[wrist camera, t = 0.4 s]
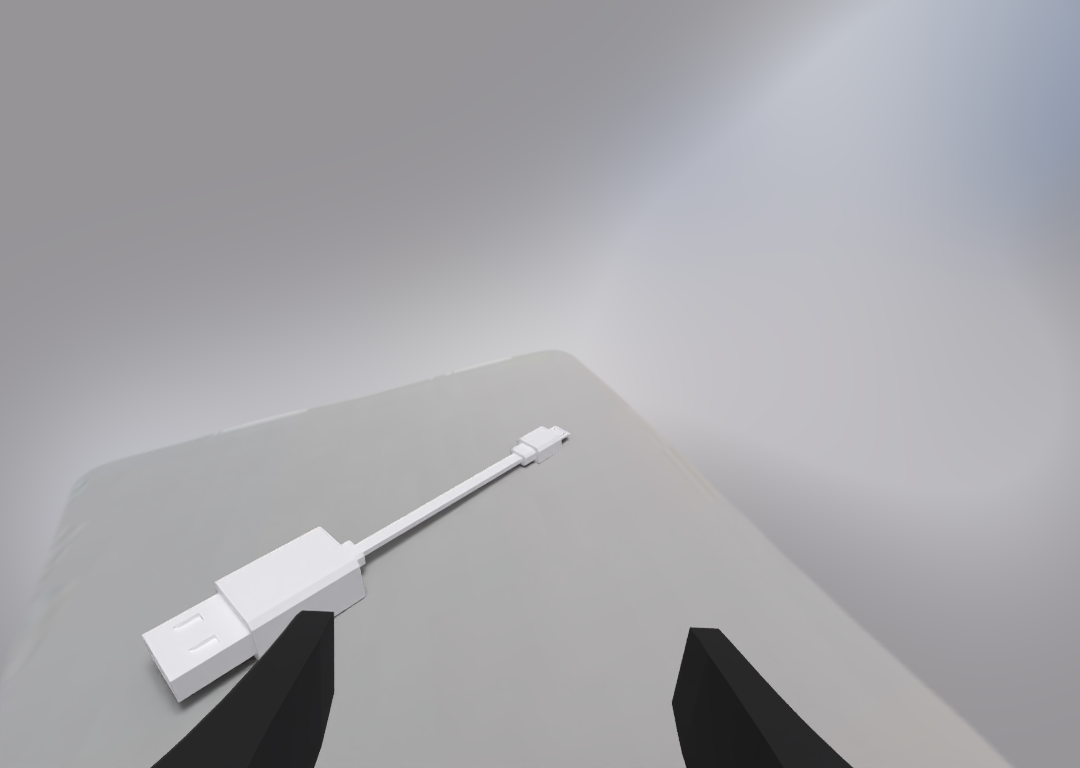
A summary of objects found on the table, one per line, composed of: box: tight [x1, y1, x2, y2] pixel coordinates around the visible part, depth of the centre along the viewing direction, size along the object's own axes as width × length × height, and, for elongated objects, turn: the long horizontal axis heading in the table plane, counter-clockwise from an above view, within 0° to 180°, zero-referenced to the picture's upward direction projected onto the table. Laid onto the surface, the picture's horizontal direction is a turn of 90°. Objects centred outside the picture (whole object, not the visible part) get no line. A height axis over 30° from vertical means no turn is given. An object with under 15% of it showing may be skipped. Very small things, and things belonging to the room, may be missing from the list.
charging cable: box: [142, 426, 570, 702], centre depth 44 cm, size 5×32×3 cm, turn 136°
